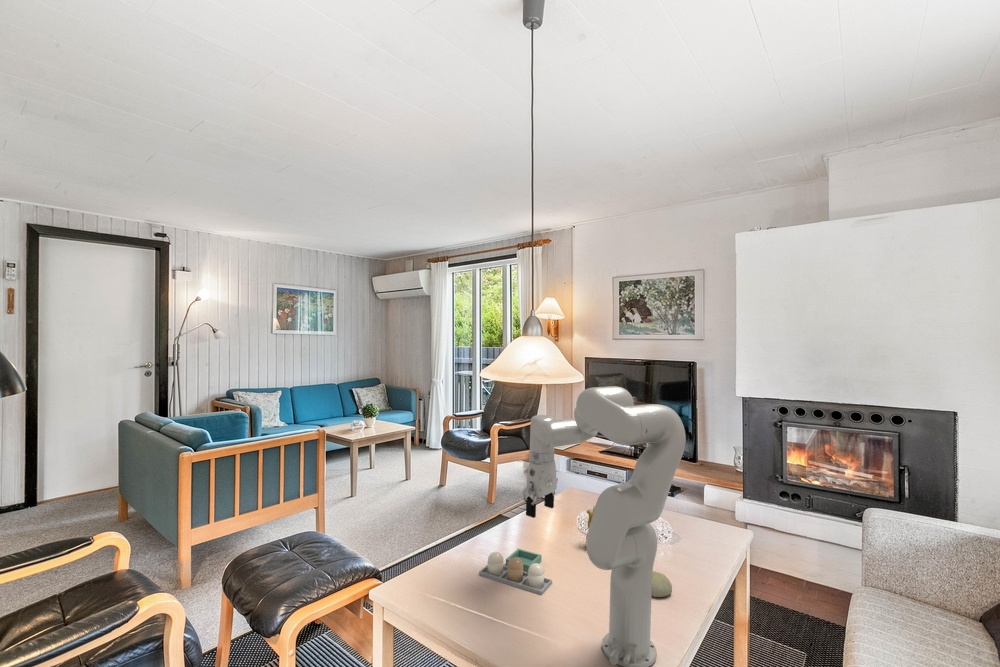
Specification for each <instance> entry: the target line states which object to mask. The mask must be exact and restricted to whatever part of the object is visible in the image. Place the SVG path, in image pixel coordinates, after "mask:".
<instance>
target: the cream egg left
mask: <svg viewBox="0 0 1000 667" xmlns="http://www.w3.org/2000/svg"><path fill="white" fill-rule="evenodd" d="M487 565H488V574H491V575H494V576H497V577H499V576H501V575H502V574H503V565H504V557H503V554H502V553H501V552H499V551H492V552H491V553H490V554H489V555H488V557H487Z"/></svg>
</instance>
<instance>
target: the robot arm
mask: <svg viewBox="0 0 1000 667" xmlns="http://www.w3.org/2000/svg"><path fill="white" fill-rule="evenodd" d="M598 433H599V434H601V435H602V436H604V437H605V438H607V439H608V440H610V441H612V442H613V443H615V444H617V445H621V446H634V445H640V444H647V446H646V448H645V449H644V450H643V451H642V453H641V454H640V455H639V457H638V459H637V461H636V462H635V465H634V470H633V472H632V475H631V477H630V479H629V480H628V481H626V482H624V483H621V484H615V485H612V486H609V487H607V488H605V489H604V490H603V491H602V492H601V493H600V494H599V496H598V497H597V500H596V503H595V505H596V506H595V509H594V513H593V516H592V520H591V523H590V526H589V528H588V531H587V533H588V534H587V533H586V535H587V540H585V546H586V553H587V555H588V556H587V557H588V558H589V560H590V562H591V564H592V565H593V566H594V567H596V568H597V569H599V570H603V571H610V570H611V572H610V581H609V583H610V585H609V586H610V587H609V616H608V617H609V622H608V623H609V624H608V626H609V627H608V633H606V634H605V635H604V636H603V638H602V641H601V647H602V651H603V653H604V654H605V656H606V657H607V658H608V660H609V663H611V665H614V666H615V665H619V666H621V667H650V666H652V665H654V664H655V662H656V660H657V658H658V657H657V655H658V652H657V648H656V646H655V644H654V643H653V642H652V641H651V625H652V624H651V623H652V622H651V618H652V595H651V591H652V572H653V570H654V564H655V559H656V555H657V551H658V537H657V533H656V530H655V528H654V527H653V525H652V524H651V523H653V522H656V521H657V520H659V519H660V517H661V516H662V513H663V510H664V507H665V504H666V502H667V498H668V496H669V492H670V490H671V487H672V484H673V480H674V477H675V474H676V471H677V469H678V467H679V465H680V462H681V459H682V458H683V455H684V452H685V449H686V448H685V447H686V442H687V440H686V439H687V438H686V429H685V426H684V424H683V421H682V419H681V417H680V416H679V414H678V413H677V412H676V410H674V409H673V408H671V407H669V406H667V405H664V404H656V403H655V404H654V403H652V404H651V403H650V404H639V405H634V398H633V396H632V394H631V393H630V392H629V391H628V389H626V388H624V387H621V386H615V385H614V386H613V385H612V386H611V385H610V386H609V385H608V386H597V387H589V388H586V389H584V390H582V391H581V392H580V393H579V395H578V396H577V399H576V406H575V408H574V411H573V418H563V419H555V418H554V417H553V416H551V415H547V414H536V415H533V416H531V418H530V433H529V434H530V436H529V458H528V460H529V463H528V469H527V476H526V487H525V488H523V490H522V497H523V500H524V503H525V504H526V505H525V515H526V516H527V517H530V518H533V519H534V518H536V517H537V516H536V515H537V513H536V512H537V504H536V501H537V499H538V498H539V499H541V498H543V497H544V500H543V502H544V505H543V506H544V507H546V508H549V509H554V506H555V504H554V503H555V495H556V490H557V488H558V487H557V483H558V481H559V479H558V477H557V467H556V461H555V460H556V459H555V448H556V447H564V446H570V445H577V444H581V443H583V442H587V441H588V440H590V439H592V438H594V437H596V436H597V435H598ZM531 497H532V498H531Z"/></svg>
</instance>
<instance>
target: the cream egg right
mask: <svg viewBox="0 0 1000 667" xmlns="http://www.w3.org/2000/svg"><path fill="white" fill-rule="evenodd" d="M527 573H528V586H529V587H532V588H535V589H539V590H540V589H542V588H543V587H544V578H545V569H544V567H543V566H542V564H541V563H540V564H538V563H534V564H532V565H530V567H529V569H528V572H527Z"/></svg>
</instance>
